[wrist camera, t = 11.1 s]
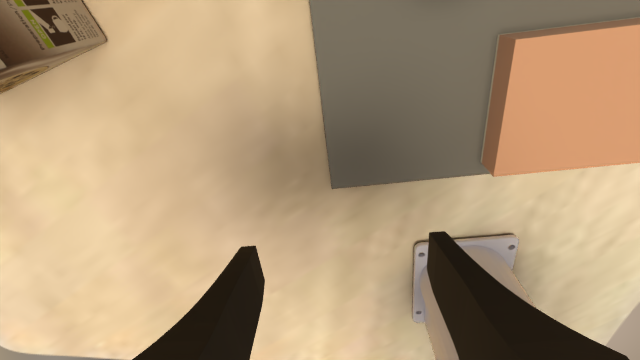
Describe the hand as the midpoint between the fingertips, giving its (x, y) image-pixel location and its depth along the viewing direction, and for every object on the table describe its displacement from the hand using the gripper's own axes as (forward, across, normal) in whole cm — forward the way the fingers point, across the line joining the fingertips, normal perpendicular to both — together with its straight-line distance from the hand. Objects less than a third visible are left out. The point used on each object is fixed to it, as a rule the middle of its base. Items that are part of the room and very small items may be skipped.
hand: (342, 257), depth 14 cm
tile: (+9, -10, -2) cm, 13 cm away
